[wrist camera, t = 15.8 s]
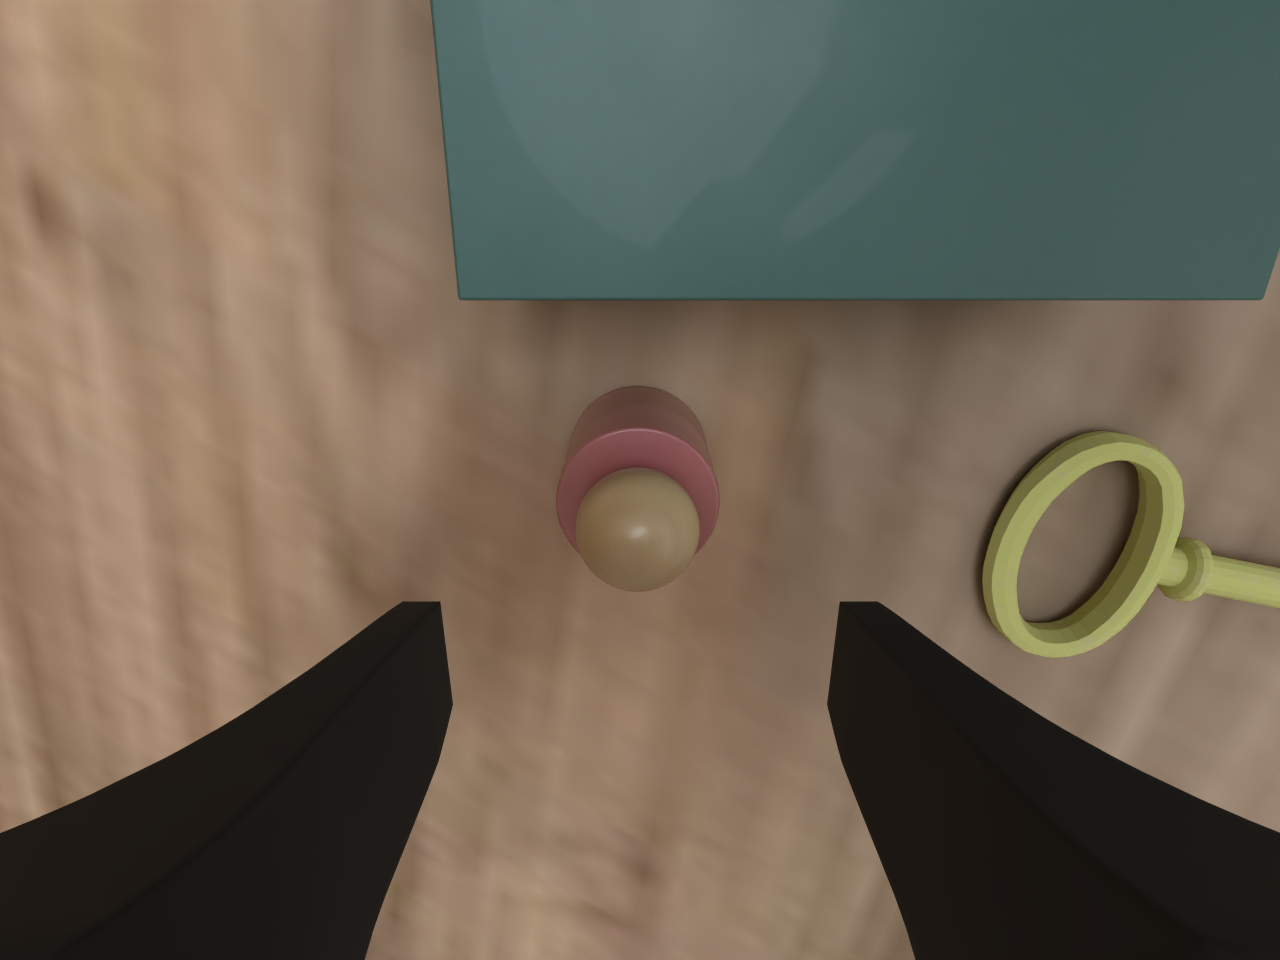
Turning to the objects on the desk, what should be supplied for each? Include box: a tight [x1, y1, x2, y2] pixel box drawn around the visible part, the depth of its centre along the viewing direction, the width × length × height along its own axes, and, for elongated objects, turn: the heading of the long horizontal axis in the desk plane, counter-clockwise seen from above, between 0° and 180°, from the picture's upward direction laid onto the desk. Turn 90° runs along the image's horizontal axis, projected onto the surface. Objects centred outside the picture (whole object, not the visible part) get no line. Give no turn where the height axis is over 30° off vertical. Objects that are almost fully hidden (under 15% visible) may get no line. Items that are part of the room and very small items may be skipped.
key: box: [982, 431, 1280, 658], centre depth 20 cm, size 7×12×2 cm, turn 99°
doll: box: [556, 386, 719, 592], centre depth 17 cm, size 4×4×7 cm
